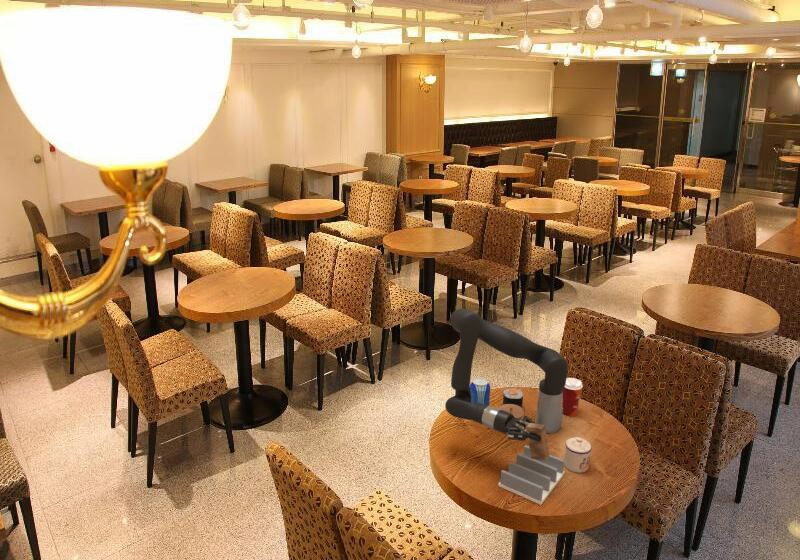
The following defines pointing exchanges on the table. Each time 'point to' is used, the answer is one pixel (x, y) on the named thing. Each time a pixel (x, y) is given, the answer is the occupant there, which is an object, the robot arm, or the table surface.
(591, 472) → the table surface
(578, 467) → the teacup with lid
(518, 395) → the sushi
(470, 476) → the table surface
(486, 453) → the table surface
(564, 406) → the coffee cup
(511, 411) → the lidded jar
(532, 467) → the rack
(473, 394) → the beer can
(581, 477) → the table surface
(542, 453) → the walnut board
